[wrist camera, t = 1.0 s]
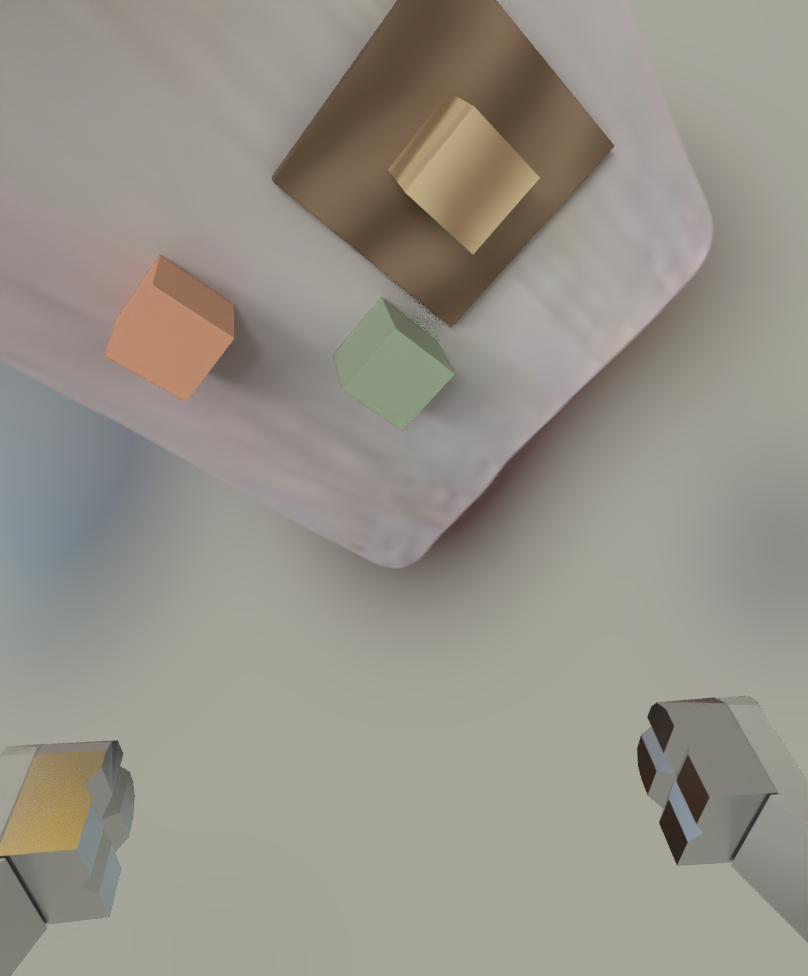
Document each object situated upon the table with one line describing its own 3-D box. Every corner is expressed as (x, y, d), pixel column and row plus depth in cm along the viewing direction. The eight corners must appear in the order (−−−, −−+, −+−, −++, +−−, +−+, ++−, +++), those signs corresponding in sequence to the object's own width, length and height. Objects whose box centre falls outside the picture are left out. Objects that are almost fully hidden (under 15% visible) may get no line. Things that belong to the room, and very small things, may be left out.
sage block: (332, 354, 46) (342, 390, 42) (381, 296, 44) (395, 328, 40) (388, 393, 48) (402, 430, 44) (436, 339, 47) (455, 374, 43)
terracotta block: (116, 319, 42) (104, 355, 38) (159, 253, 40) (152, 285, 36) (189, 363, 44) (185, 402, 40) (234, 304, 43) (234, 338, 39)
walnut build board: (272, 176, 39) (277, 206, 34) (440, -60, 34) (475, -65, 29) (446, 319, 46) (472, 361, 41) (605, 141, 41) (655, 165, 36)
